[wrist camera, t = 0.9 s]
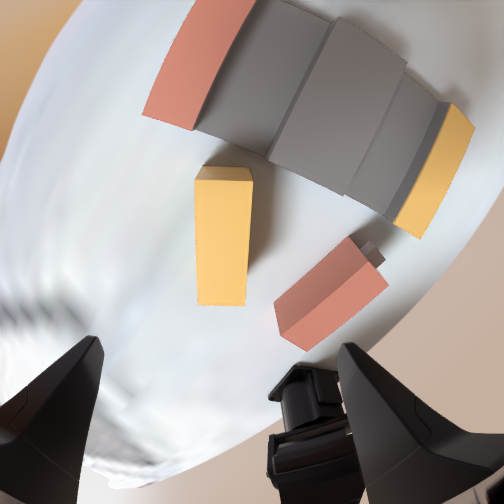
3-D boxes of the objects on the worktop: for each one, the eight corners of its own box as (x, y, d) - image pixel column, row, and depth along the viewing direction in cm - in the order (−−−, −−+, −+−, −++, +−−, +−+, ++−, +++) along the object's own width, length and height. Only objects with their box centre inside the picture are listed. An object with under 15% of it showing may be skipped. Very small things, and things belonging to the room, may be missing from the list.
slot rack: (403, 225, 20) (420, 239, 18) (154, 114, 15) (141, 114, 13) (453, 123, 16) (475, 127, 14) (218, -15, 11) (216, -32, 9)
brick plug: (297, 318, 24) (306, 351, 20) (273, 301, 23) (280, 335, 19) (376, 249, 21) (399, 275, 18) (356, 226, 20) (379, 250, 17)
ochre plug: (202, 165, 17) (194, 179, 14) (248, 167, 18) (253, 181, 14) (203, 283, 22) (198, 316, 18) (241, 283, 22) (244, 317, 18)
